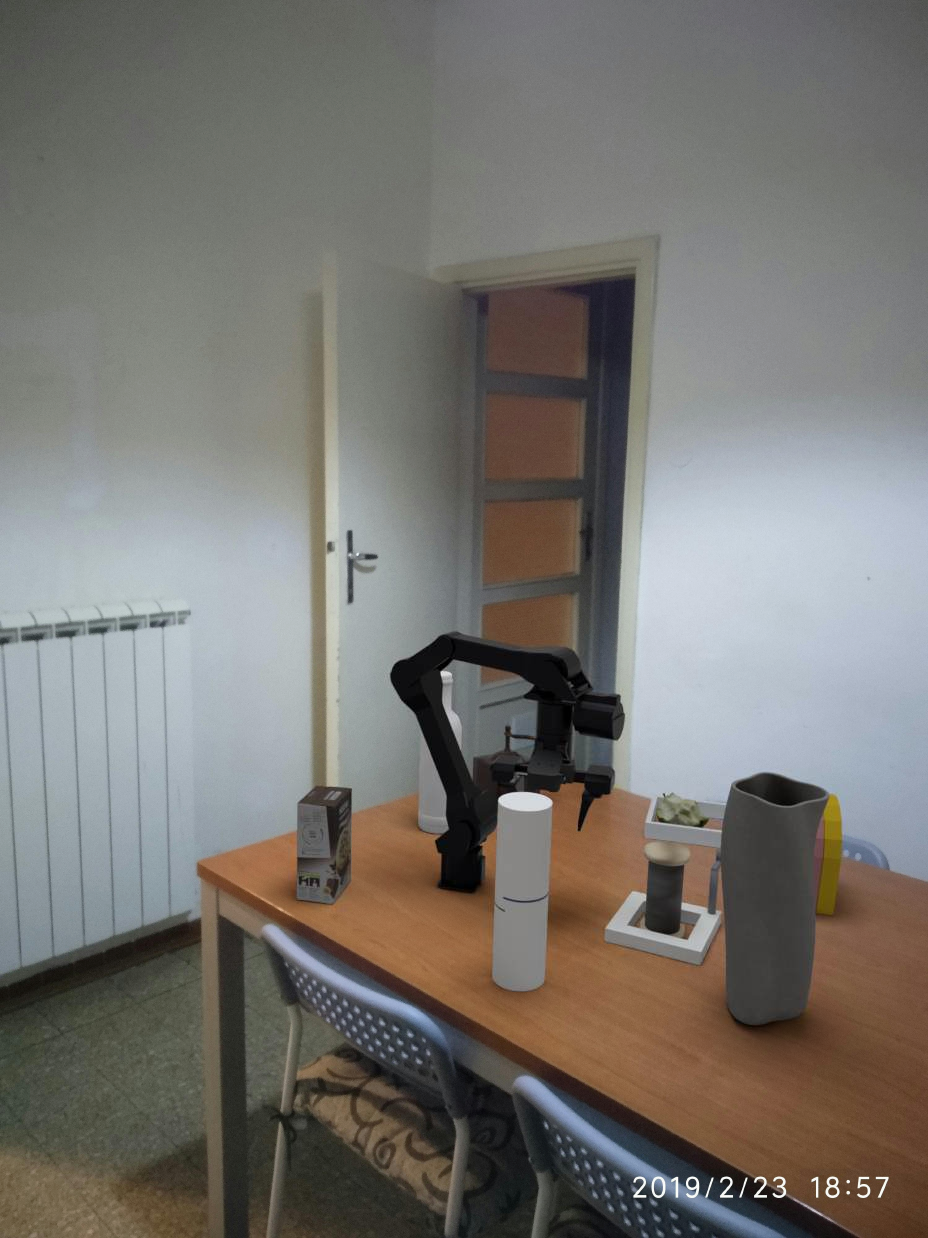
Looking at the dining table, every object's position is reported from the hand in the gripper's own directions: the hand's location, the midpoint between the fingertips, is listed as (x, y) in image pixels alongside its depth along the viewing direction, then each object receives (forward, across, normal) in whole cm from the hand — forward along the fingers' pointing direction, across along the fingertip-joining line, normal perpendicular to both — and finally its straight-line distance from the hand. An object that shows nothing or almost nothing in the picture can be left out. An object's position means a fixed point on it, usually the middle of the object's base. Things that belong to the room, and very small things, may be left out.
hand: (550, 826), depth 148 cm
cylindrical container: (+13, +1, -22) cm, 26 cm away
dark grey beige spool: (+13, +18, -3) cm, 23 cm away
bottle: (+13, -26, +25) cm, 38 cm away
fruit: (+13, +18, +39) cm, 45 cm away
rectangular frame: (+13, +19, -2) cm, 23 cm away
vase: (+13, +32, -20) cm, 40 cm away
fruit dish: (+13, +20, +41) cm, 47 cm away
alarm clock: (+13, +39, +17) cm, 45 cm away
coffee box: (+13, -35, -7) cm, 38 cm away
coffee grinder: (+13, -15, +43) cm, 48 cm away
